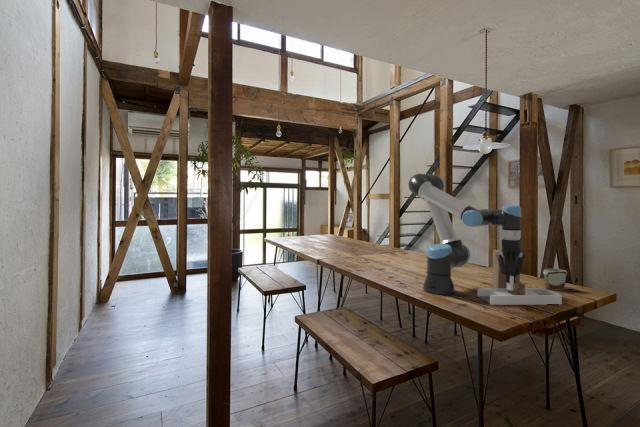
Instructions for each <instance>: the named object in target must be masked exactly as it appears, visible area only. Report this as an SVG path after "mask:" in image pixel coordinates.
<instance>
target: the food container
mask: <svg viewBox="0 0 640 427" xmlns="http://www.w3.org/2000/svg"><path fill="white" fill-rule="evenodd" d="M542 274H543V275H544V285H545V286H544V287H545V288H544V289H546V290H549V291H557V290H559V291H561V290H565V288H566V281H567V280H566V278H567V275H568V272H567V270H566V269H561V268H544V269H543V271H542Z"/></svg>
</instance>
